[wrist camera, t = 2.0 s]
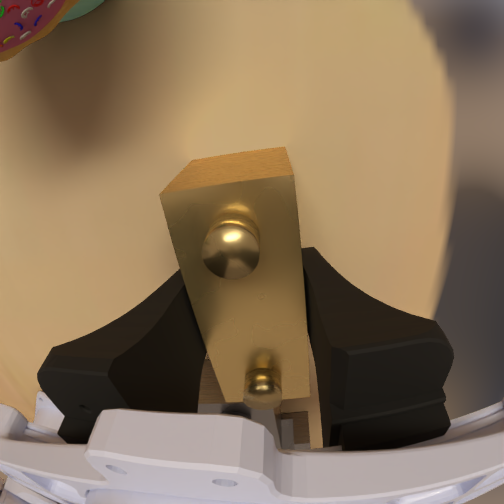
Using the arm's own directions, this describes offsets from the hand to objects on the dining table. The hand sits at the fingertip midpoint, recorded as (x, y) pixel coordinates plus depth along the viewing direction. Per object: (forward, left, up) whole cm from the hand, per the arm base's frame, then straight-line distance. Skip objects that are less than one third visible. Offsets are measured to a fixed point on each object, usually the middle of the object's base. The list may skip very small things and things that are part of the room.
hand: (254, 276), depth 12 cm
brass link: (0, 0, -1) cm, 1 cm away
